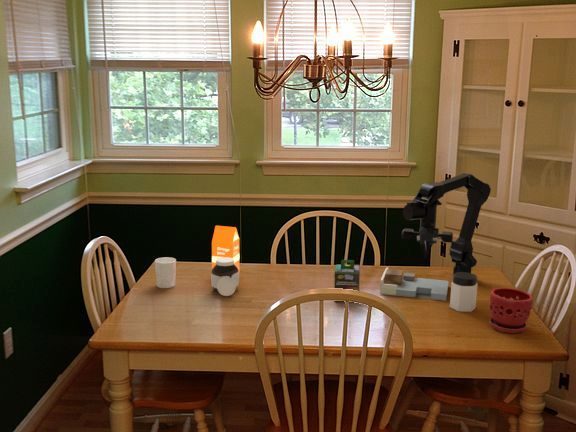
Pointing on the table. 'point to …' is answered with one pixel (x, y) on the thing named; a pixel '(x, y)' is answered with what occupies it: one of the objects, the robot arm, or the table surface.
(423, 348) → the table surface
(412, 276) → the gray block
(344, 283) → the chalk box
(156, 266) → the white cup
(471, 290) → the jar
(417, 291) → the deck
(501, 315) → the plant pot
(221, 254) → the orange juice
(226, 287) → the spread jar
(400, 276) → the walnut block
